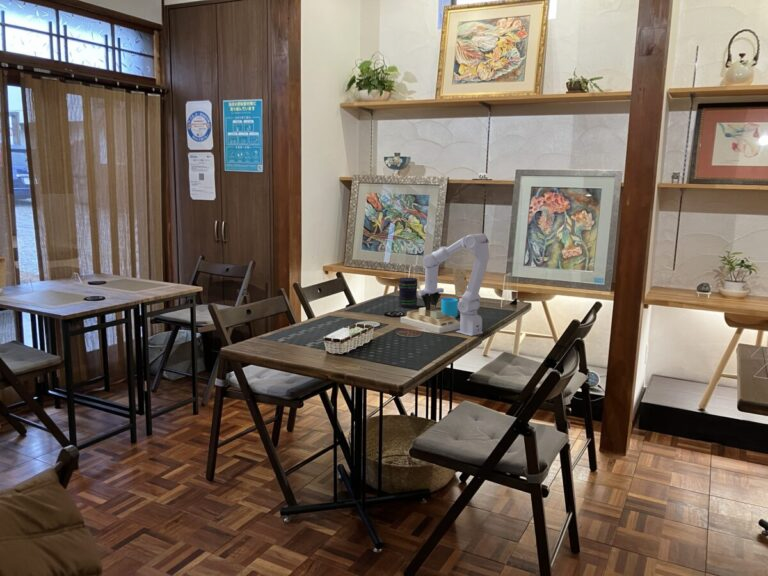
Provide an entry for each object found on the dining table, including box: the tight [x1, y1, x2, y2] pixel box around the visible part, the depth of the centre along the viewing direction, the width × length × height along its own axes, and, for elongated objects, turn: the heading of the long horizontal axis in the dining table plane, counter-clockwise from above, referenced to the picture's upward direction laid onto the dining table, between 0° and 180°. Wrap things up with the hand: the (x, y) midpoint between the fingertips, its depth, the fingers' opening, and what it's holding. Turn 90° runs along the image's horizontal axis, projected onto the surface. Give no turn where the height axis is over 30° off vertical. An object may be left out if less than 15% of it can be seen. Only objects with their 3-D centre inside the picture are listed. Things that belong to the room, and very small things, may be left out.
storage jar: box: [398, 277, 418, 310], centre depth 329 cm, size 10×10×15 cm
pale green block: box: [430, 309, 443, 319], centre depth 285 cm, size 4×4×3 cm
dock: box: [400, 315, 460, 334], centre depth 289 cm, size 26×16×3 cm, turn 40°
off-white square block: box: [418, 306, 426, 316], centre depth 290 cm, size 4×4×3 cm
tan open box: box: [406, 304, 456, 326], centre depth 288 cm, size 22×10×7 cm, turn 40°
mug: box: [440, 297, 459, 318], centre depth 311 cm, size 12×8×8 cm
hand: (430, 309), depth 288 cm, fingers closed on tan open box, 3 cm apart
